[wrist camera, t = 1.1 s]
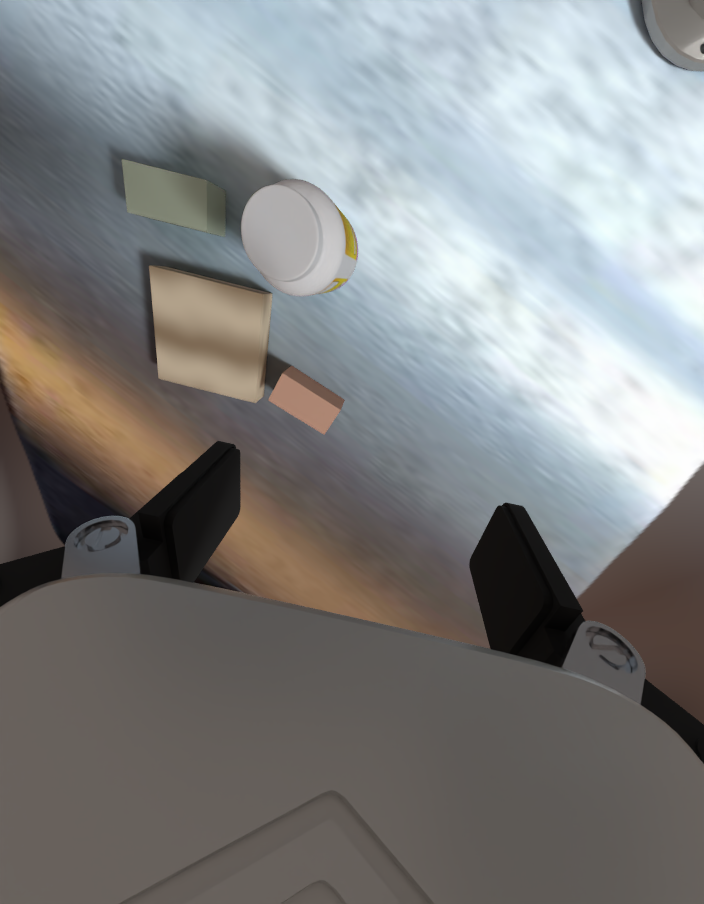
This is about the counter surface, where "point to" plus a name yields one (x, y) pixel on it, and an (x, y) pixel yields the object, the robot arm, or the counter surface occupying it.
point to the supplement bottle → (298, 238)
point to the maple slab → (210, 333)
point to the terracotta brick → (306, 399)
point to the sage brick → (174, 198)
